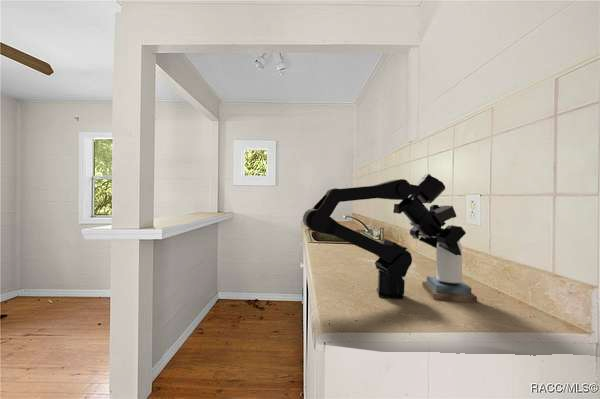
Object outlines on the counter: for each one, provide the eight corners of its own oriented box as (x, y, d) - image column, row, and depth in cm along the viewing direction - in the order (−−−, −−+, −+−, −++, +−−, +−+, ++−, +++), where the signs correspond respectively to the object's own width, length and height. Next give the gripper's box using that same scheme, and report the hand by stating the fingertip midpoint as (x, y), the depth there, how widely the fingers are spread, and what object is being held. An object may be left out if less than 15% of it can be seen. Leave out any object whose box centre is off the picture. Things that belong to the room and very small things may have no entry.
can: (467, 283, 77) (467, 240, 78) (450, 284, 74) (450, 240, 75) (447, 278, 83) (447, 238, 84) (431, 279, 80) (431, 238, 81)
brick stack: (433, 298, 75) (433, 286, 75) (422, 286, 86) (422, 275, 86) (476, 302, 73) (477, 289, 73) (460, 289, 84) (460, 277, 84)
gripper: (460, 195, 70) (497, 239, 71) (420, 195, 88) (450, 230, 90) (430, 225, 69) (468, 269, 70) (396, 219, 87) (427, 254, 89)
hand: (452, 253), depth 80 cm, fingers closed on can, 6 cm apart
